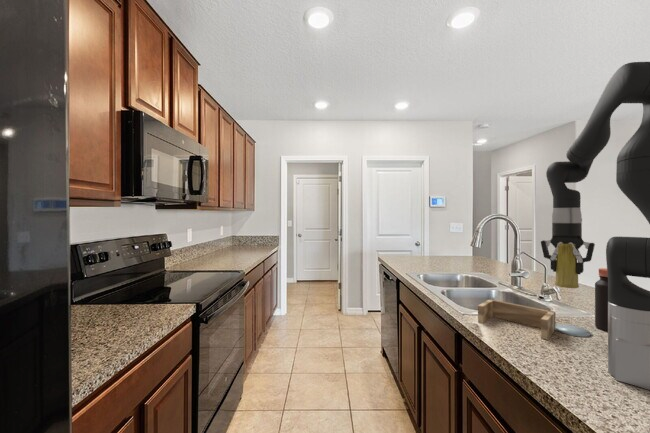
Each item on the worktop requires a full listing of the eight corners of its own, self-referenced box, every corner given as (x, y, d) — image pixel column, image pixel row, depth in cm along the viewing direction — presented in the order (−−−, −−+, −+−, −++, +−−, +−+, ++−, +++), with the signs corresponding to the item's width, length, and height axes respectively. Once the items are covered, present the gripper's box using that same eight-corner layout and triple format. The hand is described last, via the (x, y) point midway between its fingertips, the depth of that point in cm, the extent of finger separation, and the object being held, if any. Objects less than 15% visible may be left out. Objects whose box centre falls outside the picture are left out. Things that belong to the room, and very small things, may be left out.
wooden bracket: (547, 339, 90) (547, 320, 90) (478, 322, 105) (477, 305, 105) (555, 329, 97) (555, 311, 97) (489, 314, 113) (489, 299, 113)
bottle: (603, 324, 102) (602, 267, 102) (628, 331, 95) (628, 270, 95) (590, 326, 100) (589, 268, 100) (614, 334, 93) (614, 272, 93)
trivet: (588, 339, 90) (588, 337, 90) (551, 330, 97) (551, 329, 97) (592, 331, 96) (592, 329, 96) (557, 323, 103) (557, 322, 103)
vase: (557, 287, 95) (557, 243, 95) (552, 283, 101) (552, 242, 100) (581, 289, 92) (581, 244, 92) (575, 285, 98) (575, 242, 98)
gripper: (537, 221, 99) (537, 271, 99) (595, 222, 89) (595, 277, 89) (542, 221, 104) (542, 268, 104) (597, 221, 94) (597, 274, 94)
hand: (566, 272), depth 96 cm, fingers closed on vase, 5 cm apart
